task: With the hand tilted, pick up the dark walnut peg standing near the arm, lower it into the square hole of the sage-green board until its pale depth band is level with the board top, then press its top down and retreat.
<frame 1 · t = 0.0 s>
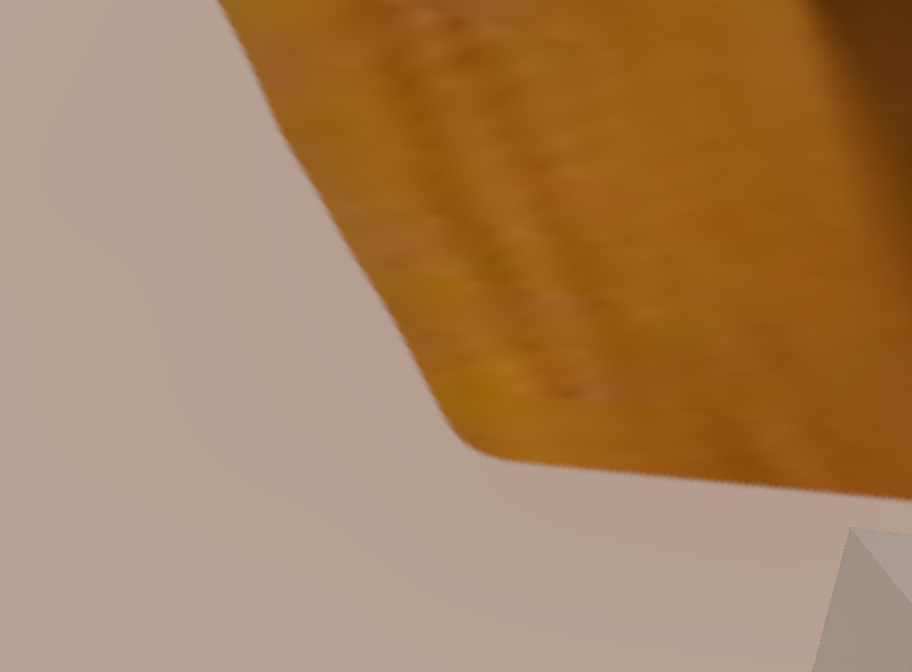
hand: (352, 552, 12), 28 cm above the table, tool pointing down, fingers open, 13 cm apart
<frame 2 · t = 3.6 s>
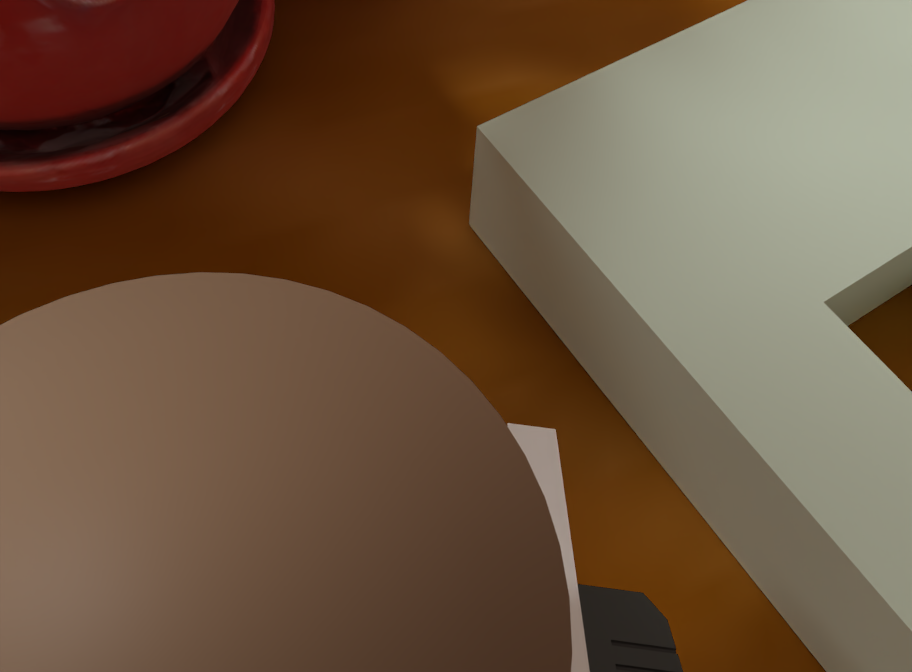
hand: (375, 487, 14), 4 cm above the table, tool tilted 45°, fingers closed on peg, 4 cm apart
plant pot: (89, 65, 24), on the table, touching figurine
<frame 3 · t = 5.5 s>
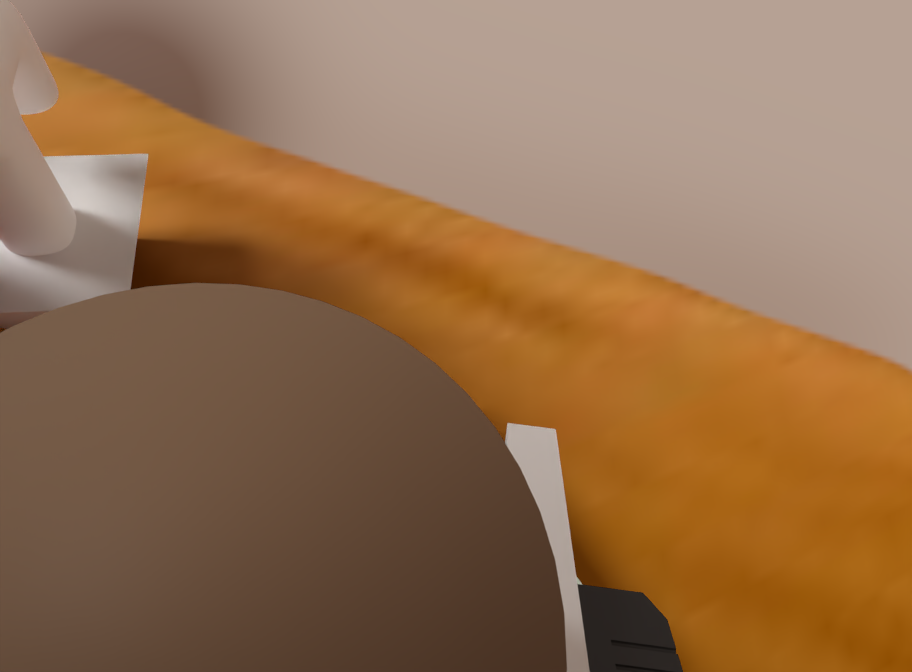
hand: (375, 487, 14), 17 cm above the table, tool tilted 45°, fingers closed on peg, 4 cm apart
figurine: (76, 284, 36), on the table, touching plant pot
when the fingers open (6 cm above the table, at t = 7.6 s): peg drops 1 cm, resting in board.
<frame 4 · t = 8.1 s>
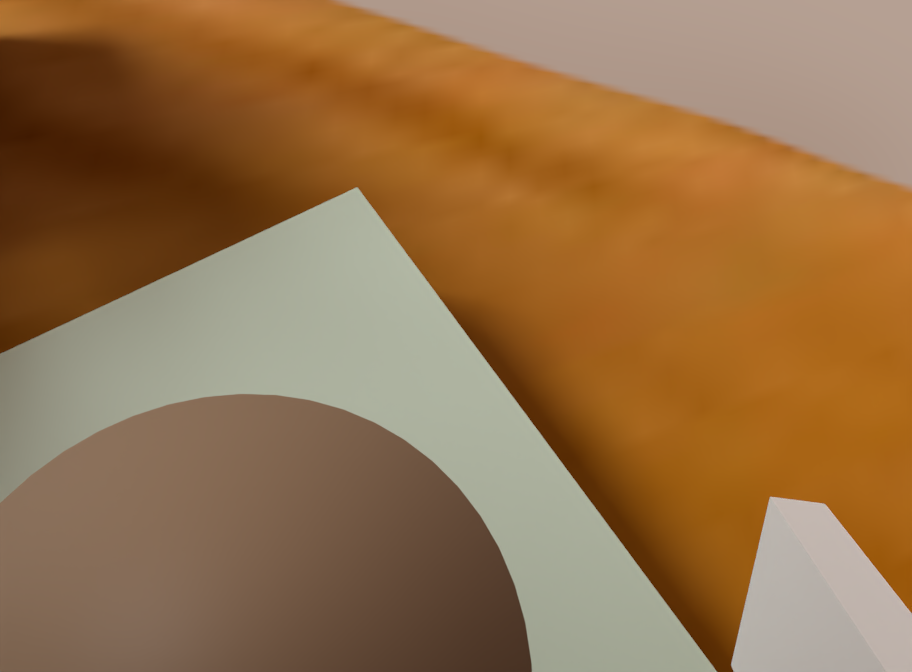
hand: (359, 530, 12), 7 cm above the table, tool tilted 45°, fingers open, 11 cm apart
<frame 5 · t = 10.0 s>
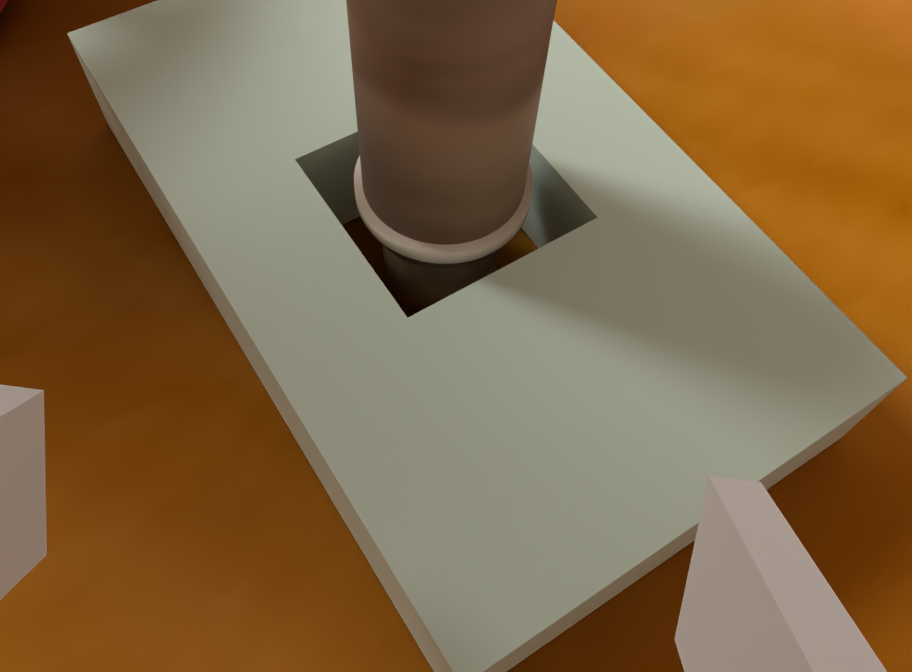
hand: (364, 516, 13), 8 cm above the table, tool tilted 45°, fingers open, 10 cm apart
board: (441, 266, 24), on the table
peg: (440, 268, 24), resting in board
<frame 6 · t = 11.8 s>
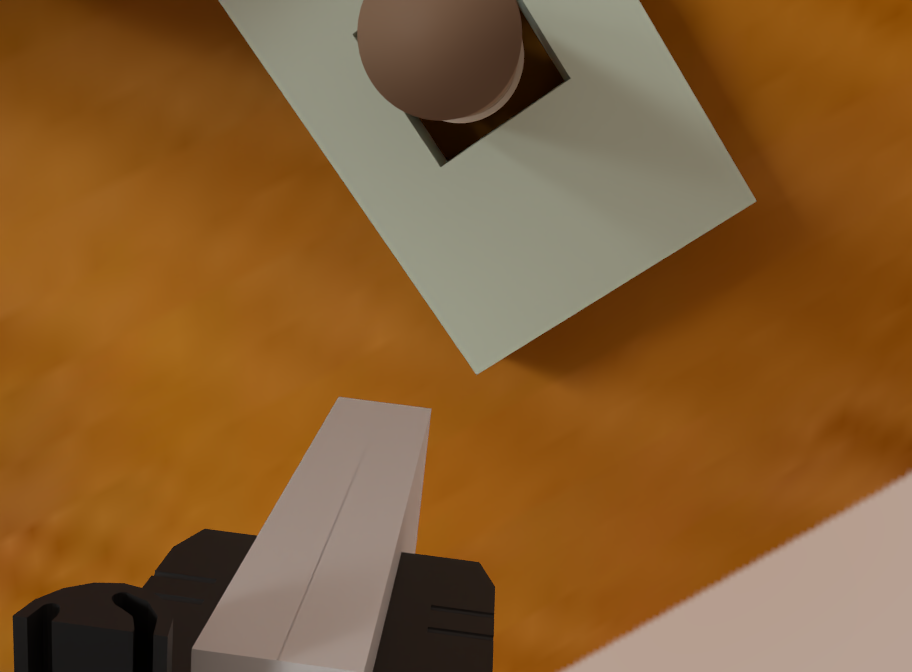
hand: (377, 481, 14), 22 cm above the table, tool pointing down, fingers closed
board: (466, 61, 33), on the table
peg: (465, 63, 33), resting in board
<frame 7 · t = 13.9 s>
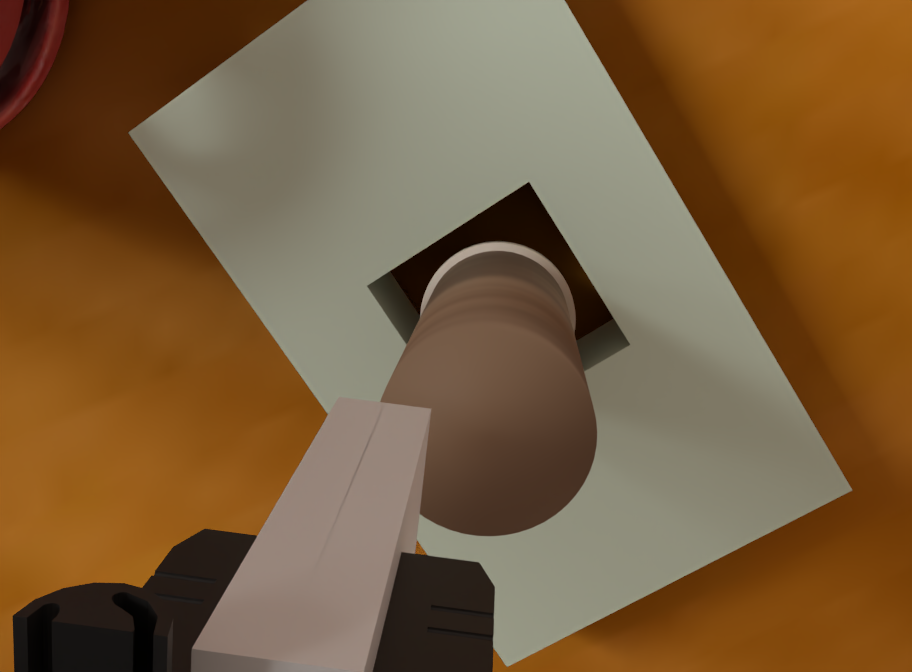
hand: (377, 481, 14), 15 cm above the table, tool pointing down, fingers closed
board: (501, 290, 28), on the table
peg: (500, 292, 28), resting in board
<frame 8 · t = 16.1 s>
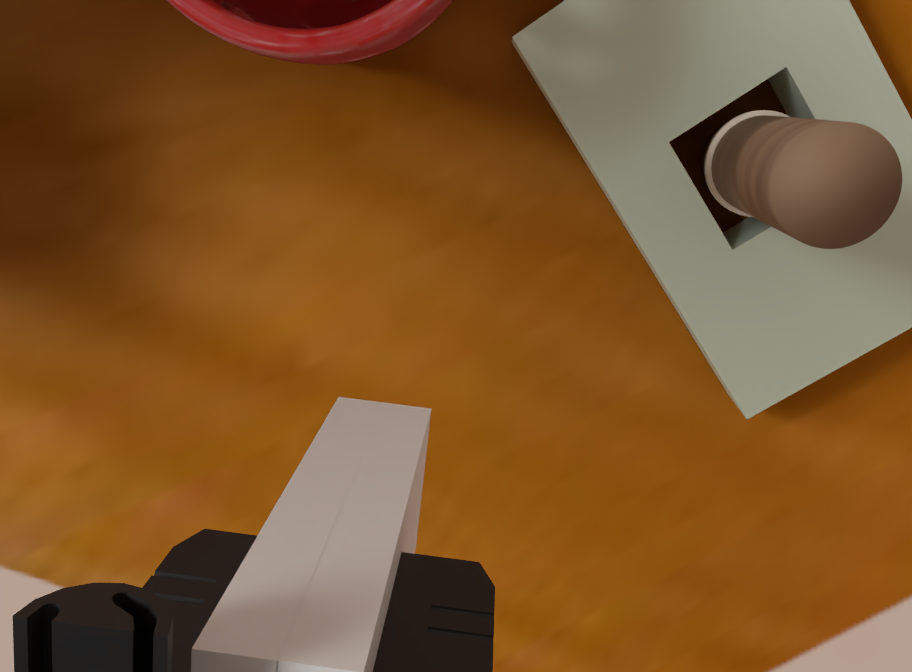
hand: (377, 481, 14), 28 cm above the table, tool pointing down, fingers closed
board: (737, 156, 40), on the table
peg: (736, 157, 40), resting in board
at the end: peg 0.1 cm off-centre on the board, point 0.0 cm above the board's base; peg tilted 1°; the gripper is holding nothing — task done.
